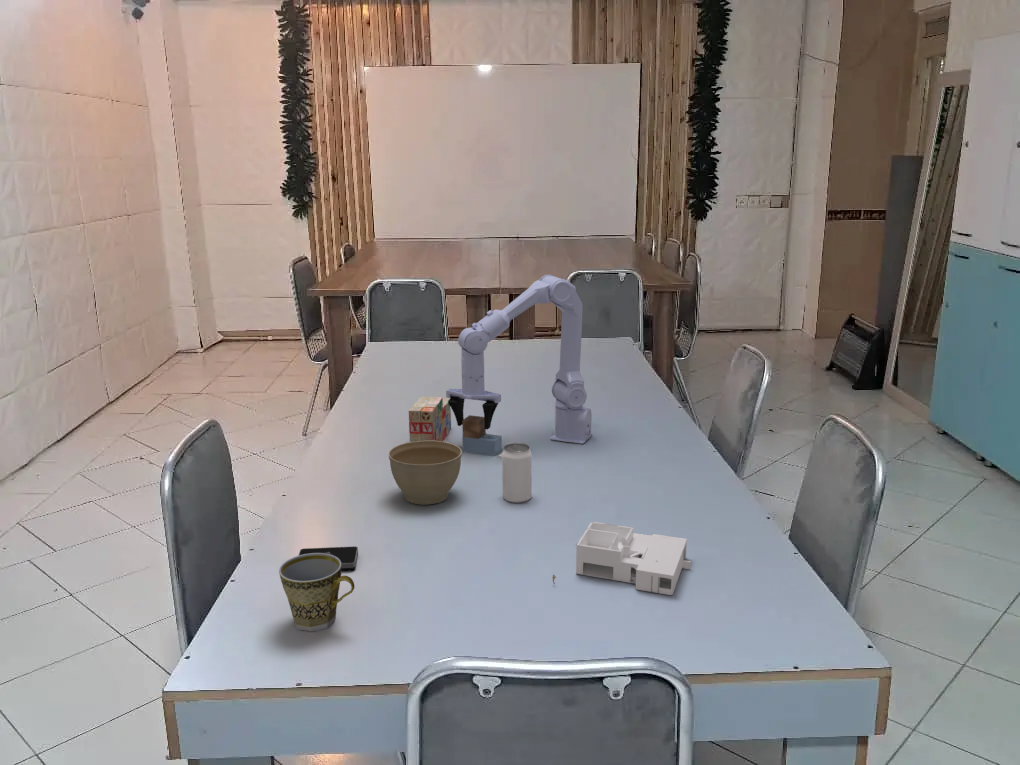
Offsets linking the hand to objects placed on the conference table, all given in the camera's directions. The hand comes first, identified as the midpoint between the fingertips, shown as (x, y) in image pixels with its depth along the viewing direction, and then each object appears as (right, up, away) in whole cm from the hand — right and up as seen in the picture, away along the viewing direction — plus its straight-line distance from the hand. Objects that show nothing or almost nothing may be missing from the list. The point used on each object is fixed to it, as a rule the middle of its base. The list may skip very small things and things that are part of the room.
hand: (473, 426), depth 218 cm
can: (+11, -15, -28) cm, 34 cm away
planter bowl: (-9, -15, -28) cm, 33 cm away
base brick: (+2, -6, +1) cm, 7 cm away
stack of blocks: (-12, -5, +8) cm, 15 cm away
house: (+34, -24, -61) cm, 74 cm away
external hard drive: (-25, -23, -58) cm, 67 cm away
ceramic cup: (-22, -29, -78) cm, 86 cm away
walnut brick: (0, -2, +1) cm, 2 cm away
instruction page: (+10, -7, -1) cm, 12 cm away
